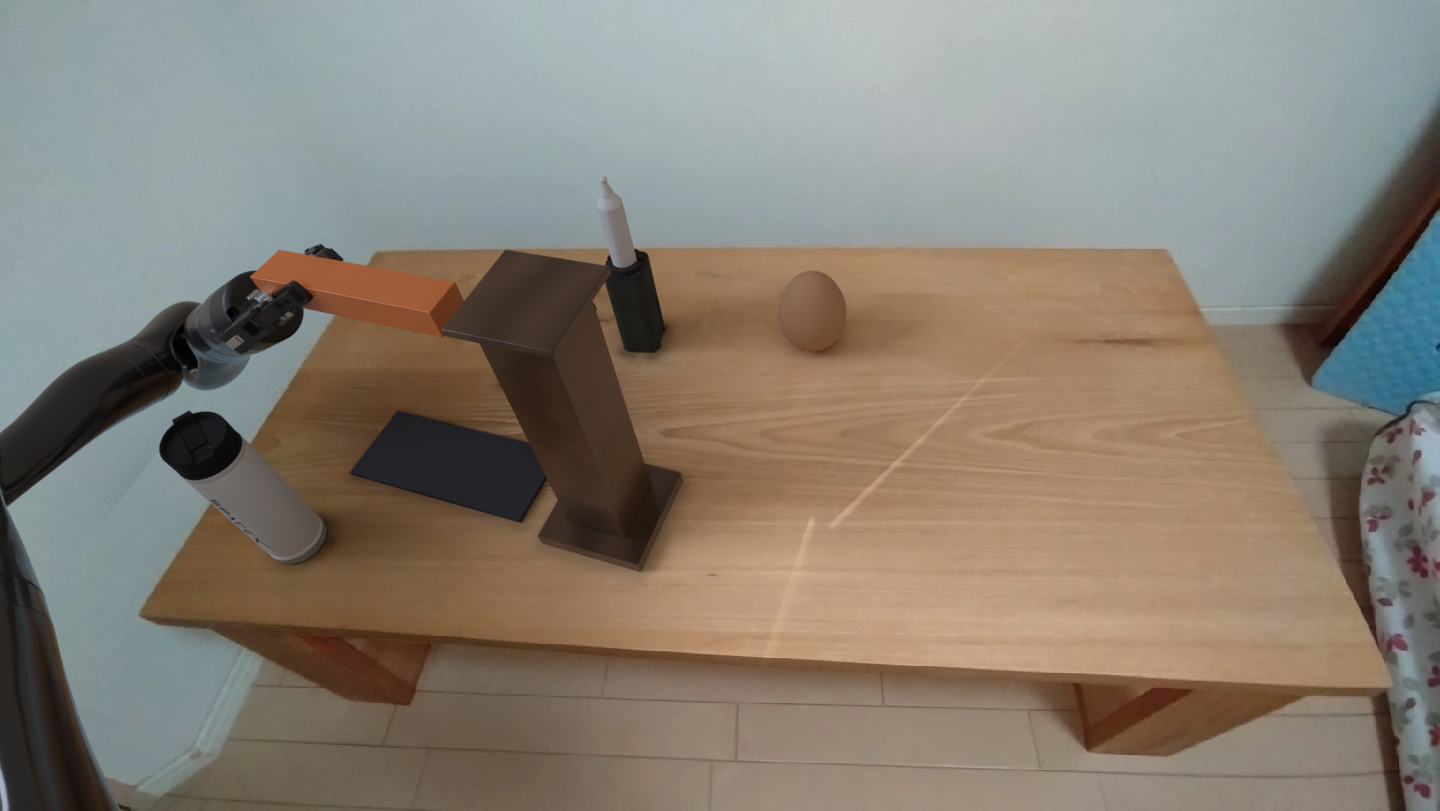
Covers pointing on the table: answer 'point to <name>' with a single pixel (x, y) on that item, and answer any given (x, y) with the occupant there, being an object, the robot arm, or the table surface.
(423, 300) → the lever bar
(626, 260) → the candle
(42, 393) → the robot arm
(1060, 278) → the table surface
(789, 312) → the egg
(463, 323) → the pedestal
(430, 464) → the mat
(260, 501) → the travel mug
